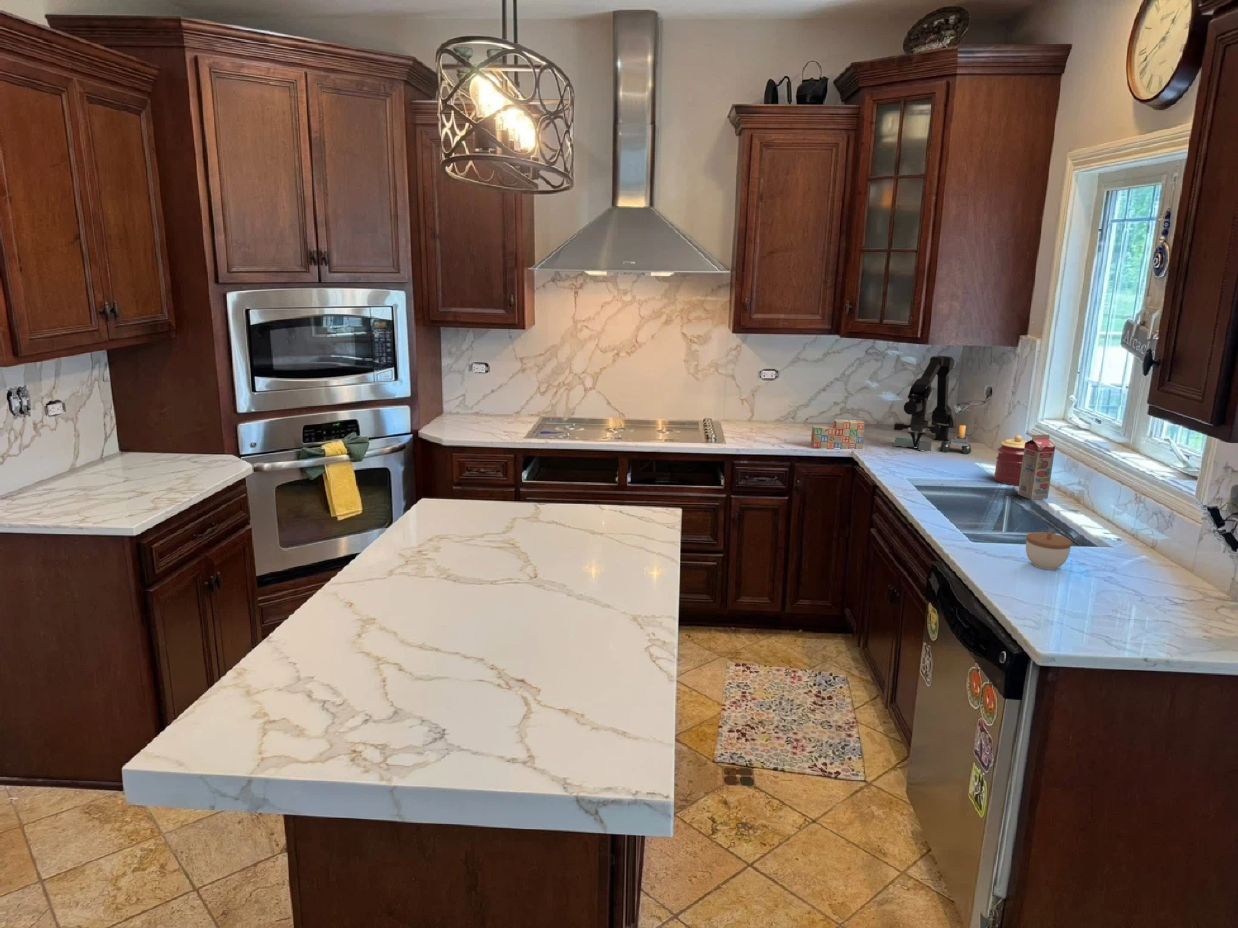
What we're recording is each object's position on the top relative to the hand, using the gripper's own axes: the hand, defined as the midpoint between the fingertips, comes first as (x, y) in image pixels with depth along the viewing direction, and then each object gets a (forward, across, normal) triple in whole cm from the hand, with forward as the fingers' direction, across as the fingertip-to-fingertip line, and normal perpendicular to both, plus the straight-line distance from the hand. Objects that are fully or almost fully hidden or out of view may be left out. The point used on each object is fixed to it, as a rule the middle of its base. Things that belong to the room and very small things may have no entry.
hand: (915, 447), depth 359 cm
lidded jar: (+1, +38, -139) cm, 144 cm away
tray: (+1, -3, +6) cm, 7 cm away
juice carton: (+1, +41, -63) cm, 75 cm away
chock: (+1, +4, 0) cm, 4 cm away
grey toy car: (+1, +16, +4) cm, 17 cm away
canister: (+1, +36, -43) cm, 56 cm away
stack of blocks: (+2, -32, -11) cm, 34 cm away
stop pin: (-4, +18, +4) cm, 19 cm away
